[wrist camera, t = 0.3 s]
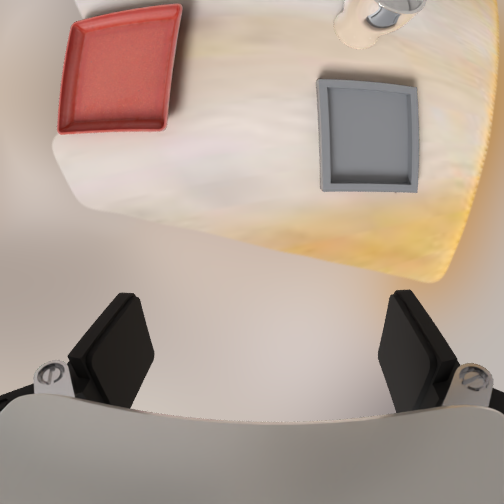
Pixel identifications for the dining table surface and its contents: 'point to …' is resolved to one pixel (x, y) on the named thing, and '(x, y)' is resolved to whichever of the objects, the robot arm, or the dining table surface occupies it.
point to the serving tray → (367, 136)
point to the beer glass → (373, 20)
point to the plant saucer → (119, 71)
